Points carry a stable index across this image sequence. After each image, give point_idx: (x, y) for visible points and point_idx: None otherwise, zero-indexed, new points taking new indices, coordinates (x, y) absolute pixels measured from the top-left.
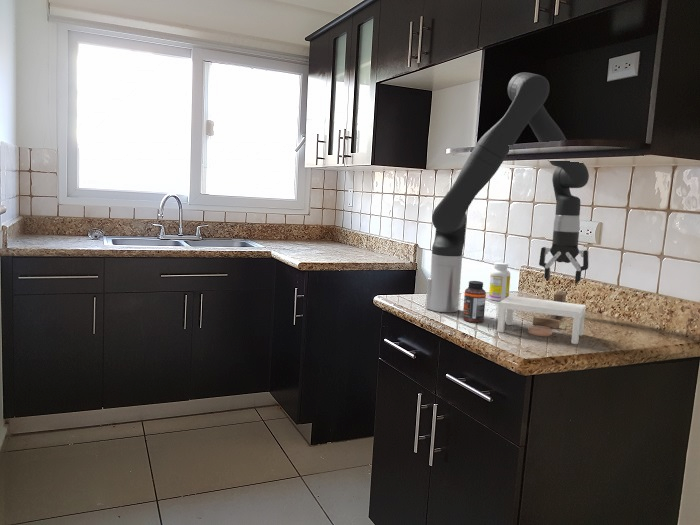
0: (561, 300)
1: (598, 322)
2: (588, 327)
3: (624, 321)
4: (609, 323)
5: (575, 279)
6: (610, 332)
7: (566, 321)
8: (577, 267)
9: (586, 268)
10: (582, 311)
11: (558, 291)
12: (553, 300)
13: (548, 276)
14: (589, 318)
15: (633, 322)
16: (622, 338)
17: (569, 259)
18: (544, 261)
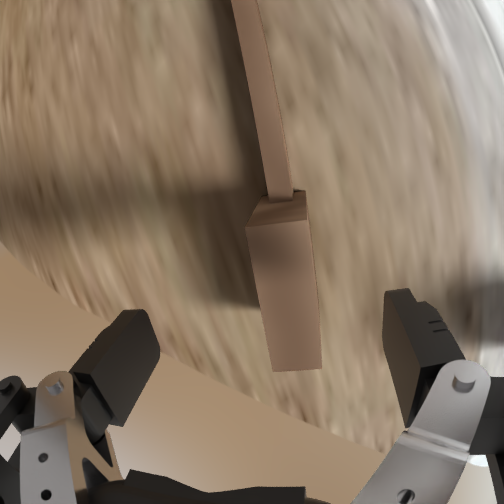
0: (255, 216)
1: (93, 165)
2: (94, 36)
3: (59, 266)
4: (67, 184)
5: (125, 322)
6: (36, 42)
7: (187, 56)
8: (54, 402)
9: (1, 382)
10: None
11: (316, 364)
12: (306, 207)
13: (397, 306)
14: (140, 217)
15: (43, 271)
16: (13, 12)
17: (71, 494)
18: (496, 467)
